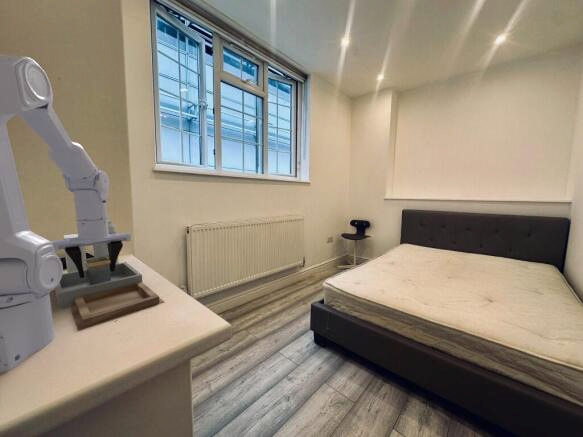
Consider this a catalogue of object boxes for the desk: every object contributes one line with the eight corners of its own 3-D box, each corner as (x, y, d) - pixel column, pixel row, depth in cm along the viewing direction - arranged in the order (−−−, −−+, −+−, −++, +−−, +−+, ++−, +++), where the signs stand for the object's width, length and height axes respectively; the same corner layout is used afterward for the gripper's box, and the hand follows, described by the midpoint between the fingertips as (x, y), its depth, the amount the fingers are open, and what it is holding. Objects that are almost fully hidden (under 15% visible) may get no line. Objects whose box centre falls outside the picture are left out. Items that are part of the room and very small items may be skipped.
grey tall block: (108, 281, 61) (106, 255, 60) (112, 286, 58) (110, 260, 57) (86, 286, 58) (83, 259, 57) (89, 292, 55) (86, 264, 54)
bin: (143, 290, 59) (141, 274, 58) (59, 312, 48) (57, 294, 47) (126, 275, 69) (125, 262, 68) (54, 291, 58) (52, 275, 57)
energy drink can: (109, 270, 72) (104, 222, 70) (90, 270, 72) (85, 222, 71) (123, 264, 78) (119, 220, 76) (105, 264, 78) (101, 220, 77)
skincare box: (67, 275, 68) (62, 235, 67) (86, 271, 71) (82, 233, 70) (68, 281, 64) (63, 238, 63) (88, 277, 67) (84, 236, 66)
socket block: (165, 306, 51) (164, 296, 50) (78, 335, 40) (77, 323, 40) (144, 288, 60) (143, 279, 60) (69, 308, 50) (68, 297, 49)
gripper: (124, 215, 64) (127, 263, 66) (48, 220, 53) (55, 277, 55) (131, 217, 59) (135, 269, 61) (49, 223, 49) (57, 285, 50)
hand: (97, 273), depth 58 cm, fingers open, 5 cm apart
